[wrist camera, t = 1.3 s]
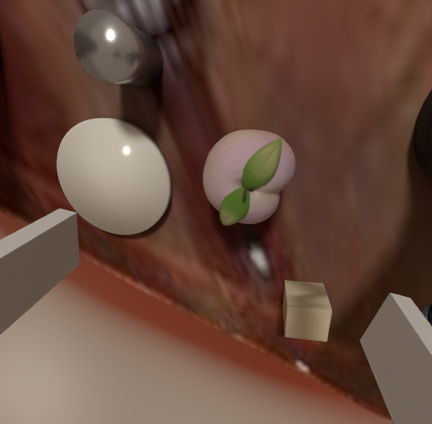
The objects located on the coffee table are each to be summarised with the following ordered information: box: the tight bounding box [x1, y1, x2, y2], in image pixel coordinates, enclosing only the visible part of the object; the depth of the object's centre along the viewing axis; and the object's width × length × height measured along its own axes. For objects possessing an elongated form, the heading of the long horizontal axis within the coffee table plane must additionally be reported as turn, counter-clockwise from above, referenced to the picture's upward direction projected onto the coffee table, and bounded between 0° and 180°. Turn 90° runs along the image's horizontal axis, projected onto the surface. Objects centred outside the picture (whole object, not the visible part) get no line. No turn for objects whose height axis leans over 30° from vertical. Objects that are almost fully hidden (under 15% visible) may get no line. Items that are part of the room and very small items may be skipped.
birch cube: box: [283, 280, 332, 342], centre depth 33 cm, size 5×5×5 cm
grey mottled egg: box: [74, 9, 163, 87], centre depth 24 cm, size 5×5×7 cm
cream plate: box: [57, 118, 173, 235], centre depth 32 cm, size 15×15×2 cm
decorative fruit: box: [203, 130, 295, 226], centre depth 25 cm, size 9×8×10 cm
